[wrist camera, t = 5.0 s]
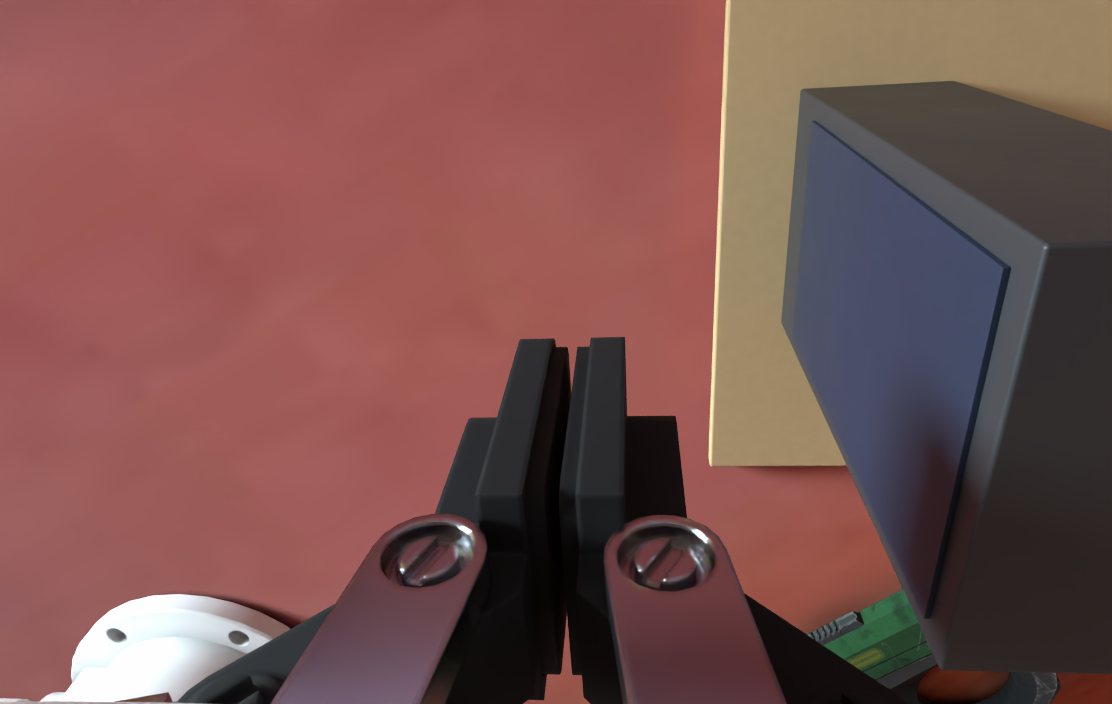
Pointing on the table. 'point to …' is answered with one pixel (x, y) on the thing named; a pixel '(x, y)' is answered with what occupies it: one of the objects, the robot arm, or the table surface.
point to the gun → (912, 654)
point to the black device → (966, 356)
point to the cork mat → (769, 155)
